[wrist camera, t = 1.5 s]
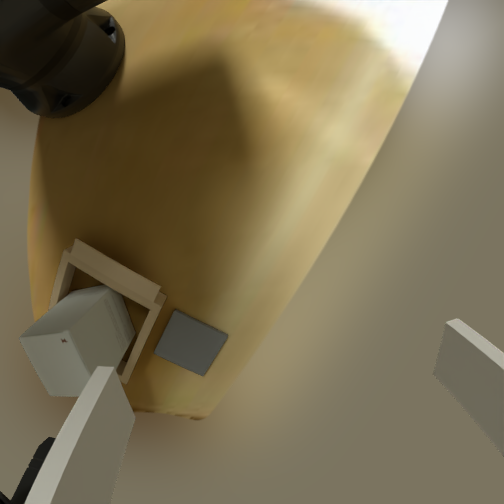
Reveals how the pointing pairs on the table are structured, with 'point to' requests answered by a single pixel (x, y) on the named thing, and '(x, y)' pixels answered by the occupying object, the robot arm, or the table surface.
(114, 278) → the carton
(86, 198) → the table surface
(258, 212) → the table surface
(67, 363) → the supplement box
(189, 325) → the coaster
